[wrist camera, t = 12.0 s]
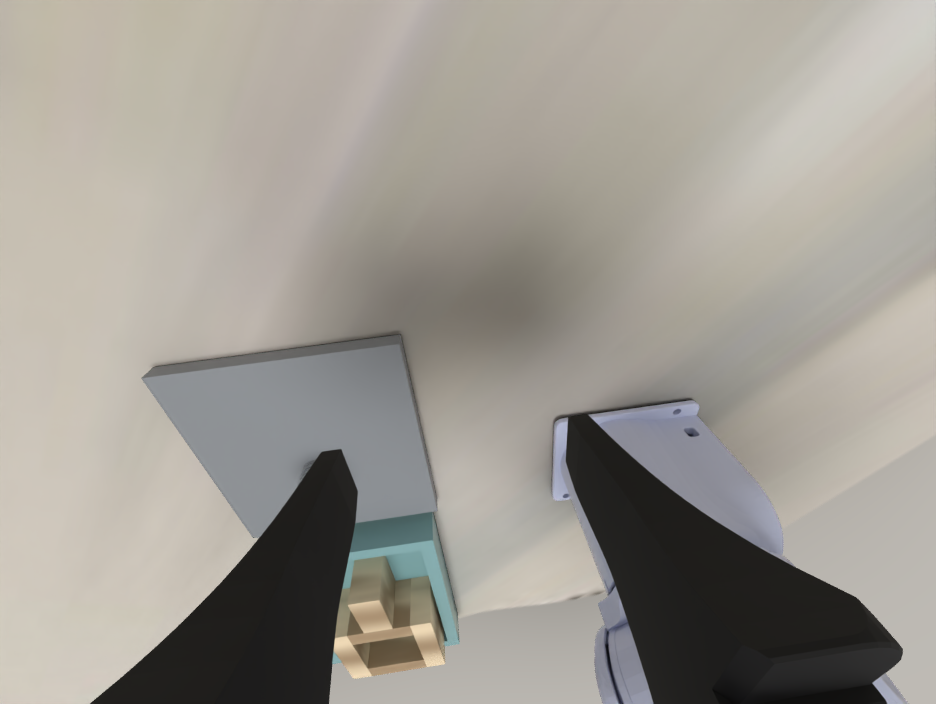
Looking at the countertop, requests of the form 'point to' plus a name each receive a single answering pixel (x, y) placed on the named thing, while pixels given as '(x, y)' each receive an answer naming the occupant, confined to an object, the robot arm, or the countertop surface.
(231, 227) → the countertop surface
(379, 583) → the maple collar
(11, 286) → the countertop surface
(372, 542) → the tray
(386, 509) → the board
